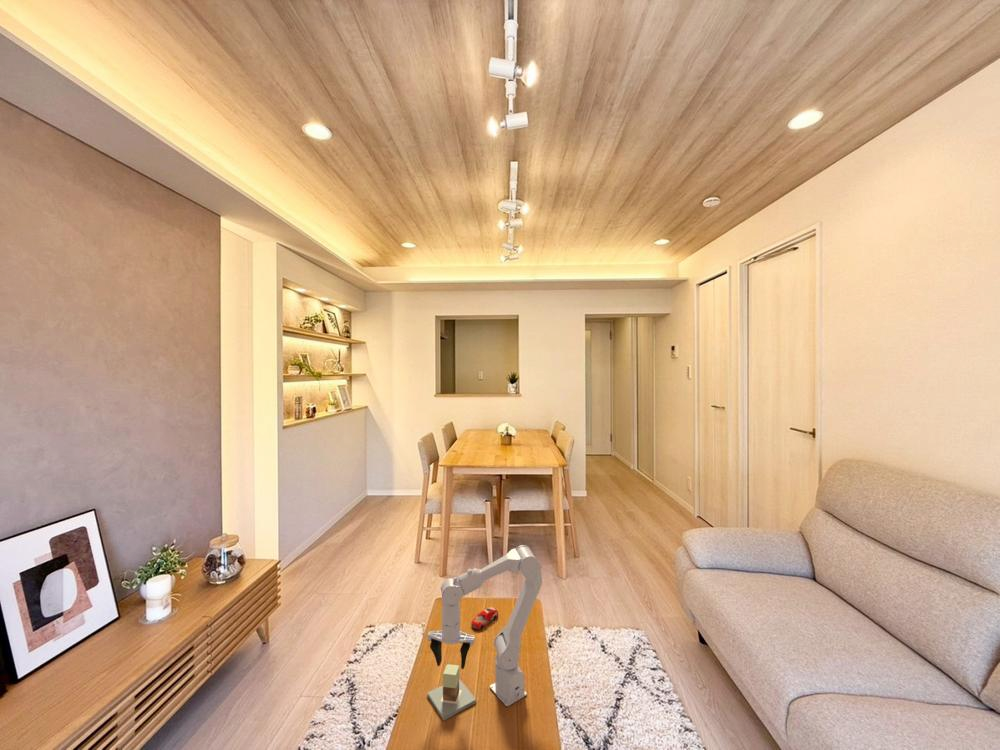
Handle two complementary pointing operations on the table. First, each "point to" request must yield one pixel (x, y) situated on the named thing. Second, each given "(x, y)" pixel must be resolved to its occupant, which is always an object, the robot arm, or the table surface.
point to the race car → (484, 618)
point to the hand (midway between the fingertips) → (451, 665)
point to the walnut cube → (450, 693)
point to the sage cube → (451, 676)
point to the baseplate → (451, 707)
